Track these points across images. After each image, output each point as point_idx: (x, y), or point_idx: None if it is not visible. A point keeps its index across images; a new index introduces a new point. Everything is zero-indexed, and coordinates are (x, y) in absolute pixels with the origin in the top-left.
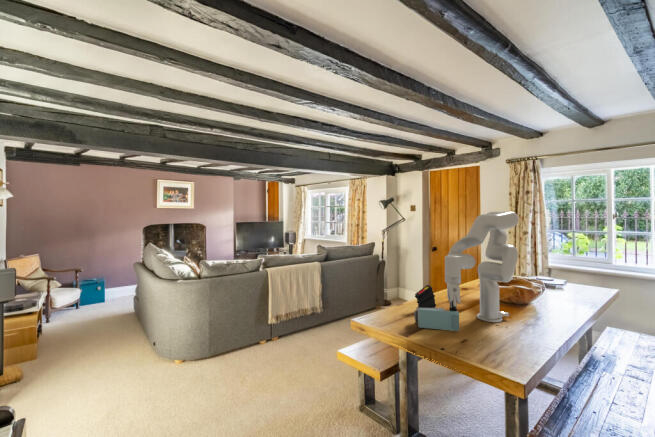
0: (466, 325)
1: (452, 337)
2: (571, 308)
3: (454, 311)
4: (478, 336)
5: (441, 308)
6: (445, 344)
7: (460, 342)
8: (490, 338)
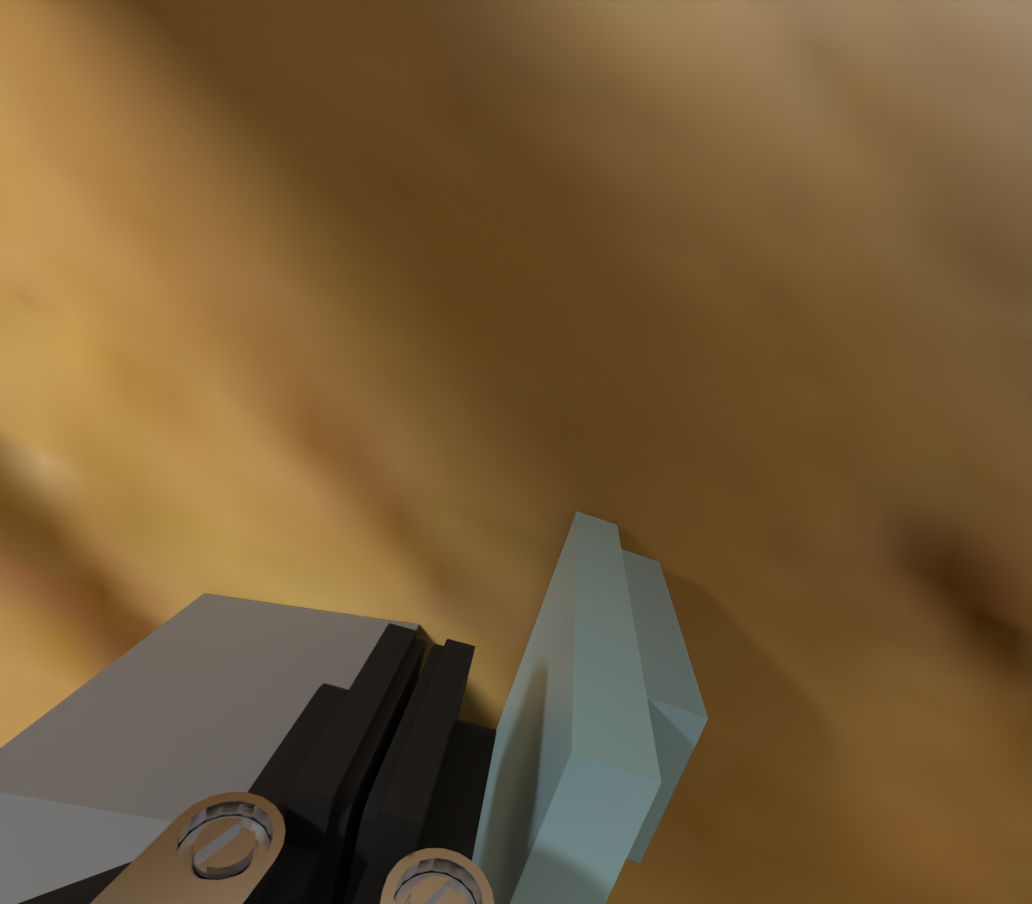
0: (319, 243)
1: (808, 706)
2: None
3: (563, 880)
4: (846, 263)
5: (4, 832)
6: (1026, 896)
7: (1015, 677)
8: (983, 63)
